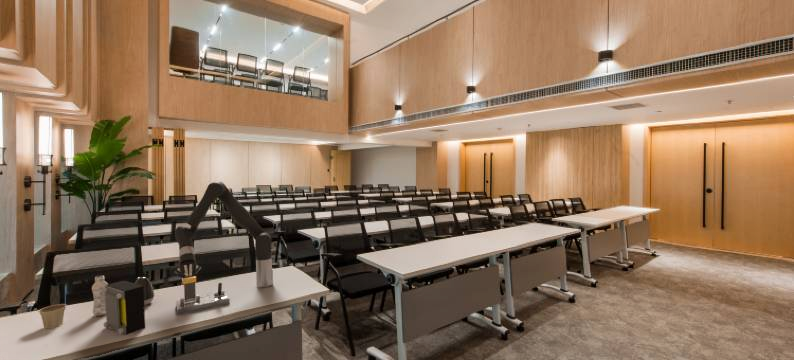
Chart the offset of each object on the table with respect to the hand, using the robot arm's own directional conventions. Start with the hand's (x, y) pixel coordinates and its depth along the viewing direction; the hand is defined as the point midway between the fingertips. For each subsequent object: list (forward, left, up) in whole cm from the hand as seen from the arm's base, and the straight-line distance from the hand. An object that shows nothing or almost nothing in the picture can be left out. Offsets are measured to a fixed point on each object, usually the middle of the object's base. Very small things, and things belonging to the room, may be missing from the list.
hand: (189, 283), depth 182 cm
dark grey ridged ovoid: (+21, -18, -13) cm, 31 cm away
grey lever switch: (-6, +3, -12) cm, 14 cm away
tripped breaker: (0, +3, -8) cm, 8 cm away
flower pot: (+55, -12, -13) cm, 58 cm away
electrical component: (+27, +11, -13) cm, 32 cm away
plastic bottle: (+38, -14, -13) cm, 43 cm away
